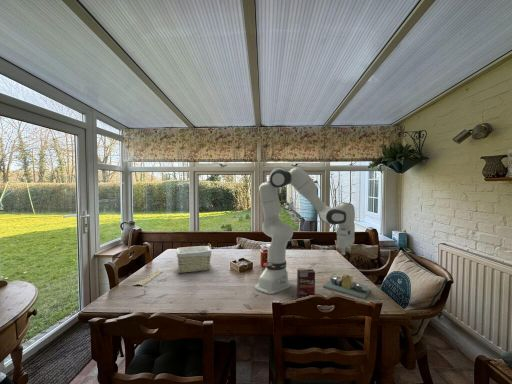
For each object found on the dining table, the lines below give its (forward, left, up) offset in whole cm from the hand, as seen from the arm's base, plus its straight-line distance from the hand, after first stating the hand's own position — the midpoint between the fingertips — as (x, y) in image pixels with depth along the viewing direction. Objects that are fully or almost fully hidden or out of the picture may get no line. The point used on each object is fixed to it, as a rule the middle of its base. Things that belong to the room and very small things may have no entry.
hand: (346, 252), depth 139 cm
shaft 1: (-1, +6, -21) cm, 21 cm away
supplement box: (-30, +11, -21) cm, 38 cm away
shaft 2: (-2, -9, -21) cm, 23 cm away
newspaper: (-67, +106, -22) cm, 127 cm away
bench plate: (-3, -1, -21) cm, 21 cm away
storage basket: (-38, +97, -21) cm, 106 cm away
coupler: (-2, -1, -20) cm, 20 cm away
